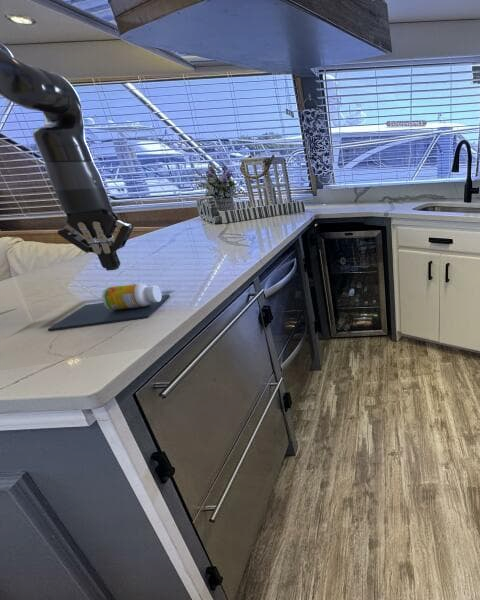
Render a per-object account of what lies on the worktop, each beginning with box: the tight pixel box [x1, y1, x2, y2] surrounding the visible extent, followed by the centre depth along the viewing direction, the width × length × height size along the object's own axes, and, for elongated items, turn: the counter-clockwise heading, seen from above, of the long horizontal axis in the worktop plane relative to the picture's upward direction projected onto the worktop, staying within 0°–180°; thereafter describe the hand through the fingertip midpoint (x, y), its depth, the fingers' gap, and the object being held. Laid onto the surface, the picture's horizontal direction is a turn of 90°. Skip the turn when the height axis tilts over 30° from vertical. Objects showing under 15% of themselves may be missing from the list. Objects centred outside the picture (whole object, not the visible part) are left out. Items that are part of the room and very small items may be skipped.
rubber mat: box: [47, 294, 170, 332], centre depth 74 cm, size 18×13×1 cm
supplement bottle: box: [101, 283, 162, 310], centre depth 74 cm, size 5×5×10 cm
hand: (113, 269), depth 71 cm, fingers closed
